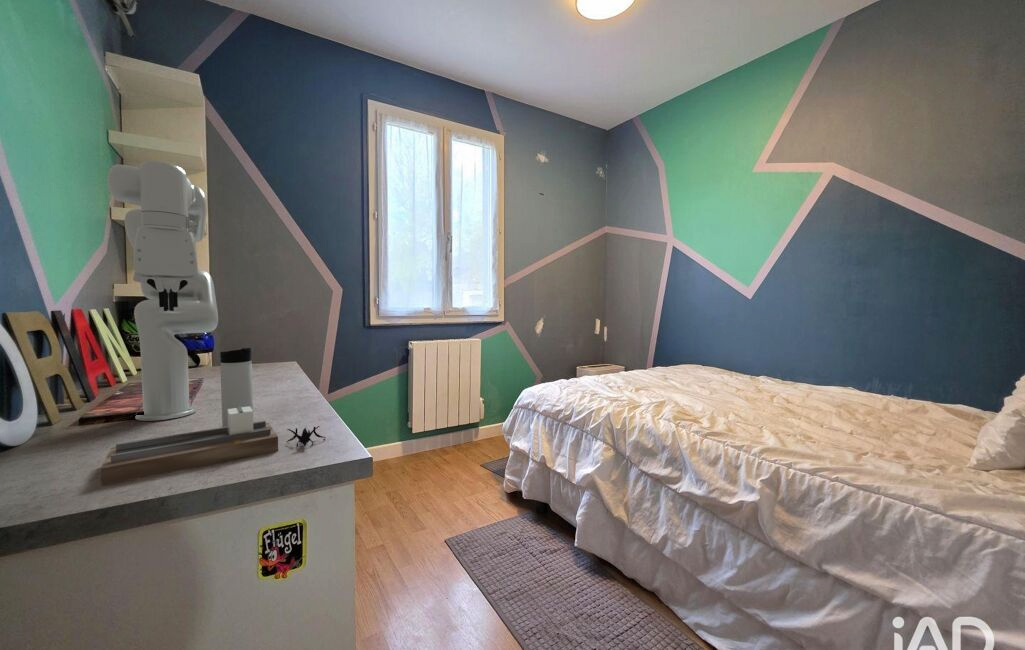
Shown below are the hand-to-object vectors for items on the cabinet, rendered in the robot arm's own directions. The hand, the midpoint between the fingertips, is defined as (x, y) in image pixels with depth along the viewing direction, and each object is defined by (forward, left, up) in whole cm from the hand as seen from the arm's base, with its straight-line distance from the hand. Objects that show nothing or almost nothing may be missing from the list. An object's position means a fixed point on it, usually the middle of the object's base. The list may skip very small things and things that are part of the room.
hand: (168, 310), depth 85 cm
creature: (+17, +23, -30) cm, 41 cm away
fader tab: (+12, +11, -26) cm, 31 cm away
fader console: (+12, +4, -29) cm, 32 cm away
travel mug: (-4, +12, -29) cm, 32 cm away
